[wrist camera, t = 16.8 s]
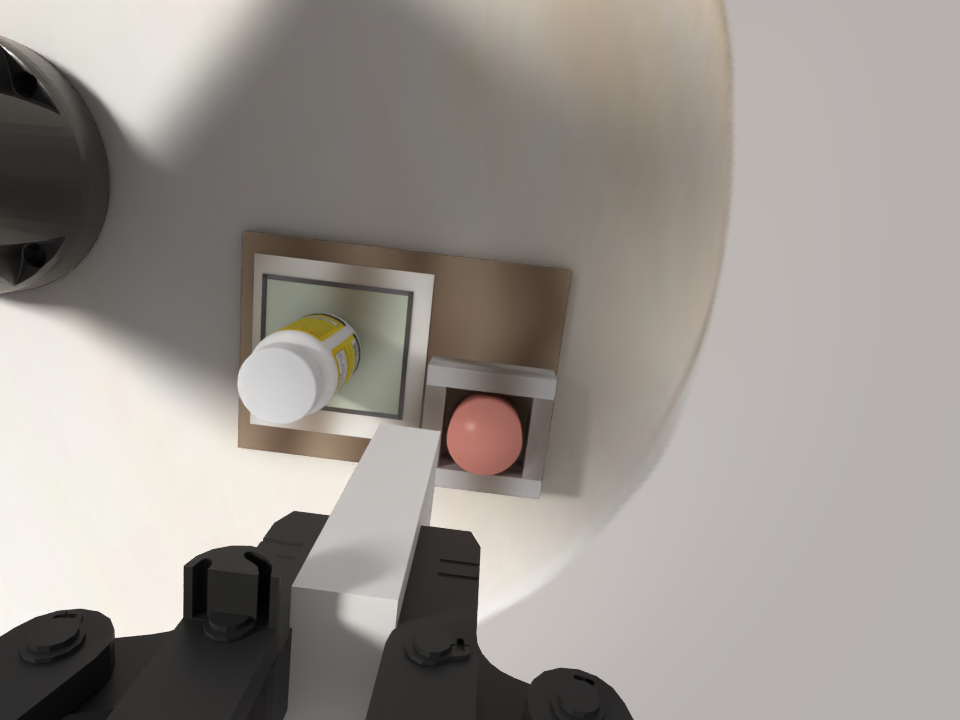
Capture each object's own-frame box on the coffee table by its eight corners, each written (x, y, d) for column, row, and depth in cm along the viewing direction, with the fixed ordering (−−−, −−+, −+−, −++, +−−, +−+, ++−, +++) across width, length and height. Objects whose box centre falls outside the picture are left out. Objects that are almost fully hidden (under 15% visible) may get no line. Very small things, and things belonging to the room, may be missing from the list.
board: (242, 443, 40) (220, 462, 37) (247, 231, 37) (223, 232, 34) (538, 480, 40) (541, 502, 37) (570, 270, 37) (576, 275, 34)
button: (447, 451, 39) (443, 470, 36) (454, 385, 38) (450, 399, 35) (516, 459, 39) (516, 479, 36) (525, 394, 37) (526, 409, 35)
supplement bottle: (272, 340, 38) (208, 375, 30) (329, 296, 37) (280, 319, 29) (321, 400, 39) (271, 449, 30) (378, 358, 38) (343, 397, 30)
